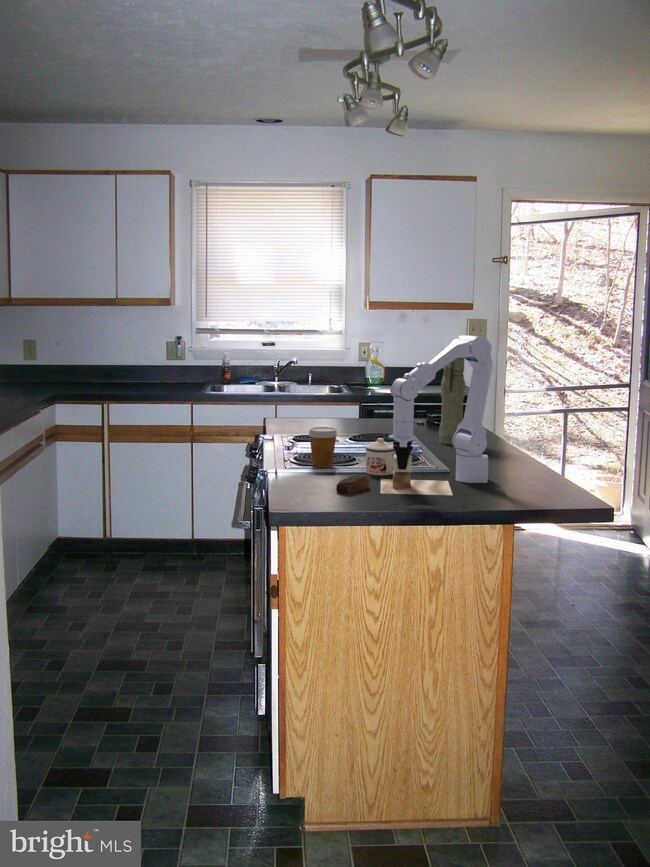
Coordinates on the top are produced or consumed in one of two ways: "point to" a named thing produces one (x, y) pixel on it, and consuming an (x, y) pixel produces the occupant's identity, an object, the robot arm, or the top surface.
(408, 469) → the sage block
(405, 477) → the walnut block
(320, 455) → the disposable coffee cup
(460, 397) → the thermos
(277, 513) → the top surface
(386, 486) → the build board
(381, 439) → the teacup with lid
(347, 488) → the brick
